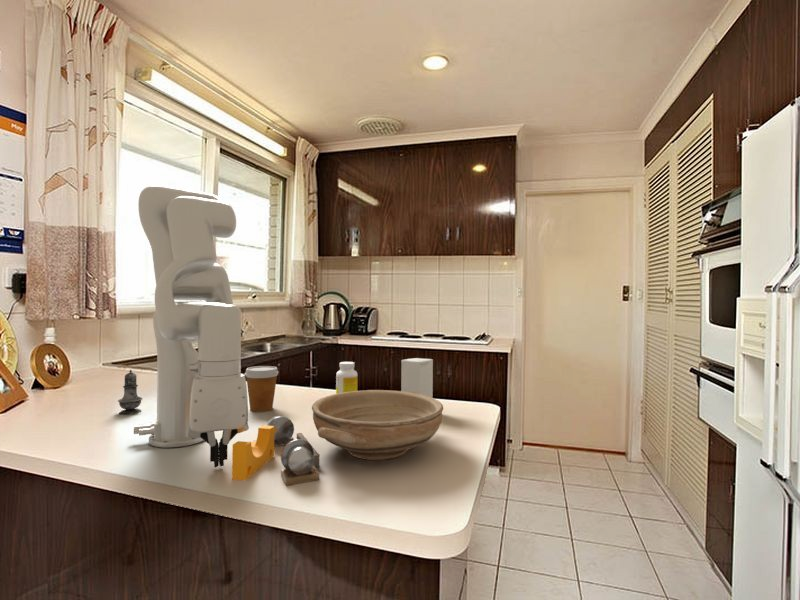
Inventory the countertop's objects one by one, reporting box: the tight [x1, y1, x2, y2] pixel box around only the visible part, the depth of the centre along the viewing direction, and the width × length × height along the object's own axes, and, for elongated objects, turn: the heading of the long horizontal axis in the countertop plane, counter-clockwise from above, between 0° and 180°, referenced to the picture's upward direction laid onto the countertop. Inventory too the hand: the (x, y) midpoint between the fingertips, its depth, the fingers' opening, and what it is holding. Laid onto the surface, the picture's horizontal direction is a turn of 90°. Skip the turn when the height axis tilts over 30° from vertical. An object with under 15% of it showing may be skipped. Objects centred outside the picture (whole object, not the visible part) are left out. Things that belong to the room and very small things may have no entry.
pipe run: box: [266, 415, 320, 486], centre depth 88 cm, size 8×26×6 cm, turn 26°
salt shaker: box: [117, 369, 143, 416], centre depth 121 cm, size 6×6×12 cm
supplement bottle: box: [335, 361, 359, 394], centre depth 134 cm, size 7×7×13 cm
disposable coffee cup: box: [244, 365, 280, 413], centre depth 126 cm, size 10×10×12 cm
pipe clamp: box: [231, 425, 275, 481], centre depth 84 cm, size 12×4×6 cm, turn 172°
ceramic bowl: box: [311, 389, 444, 461], centre depth 94 cm, size 37×29×10 cm
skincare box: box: [400, 357, 434, 398], centre depth 124 cm, size 8×7×16 cm
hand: (218, 464), depth 82 cm, fingers closed
